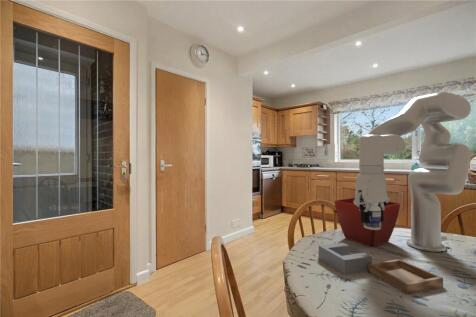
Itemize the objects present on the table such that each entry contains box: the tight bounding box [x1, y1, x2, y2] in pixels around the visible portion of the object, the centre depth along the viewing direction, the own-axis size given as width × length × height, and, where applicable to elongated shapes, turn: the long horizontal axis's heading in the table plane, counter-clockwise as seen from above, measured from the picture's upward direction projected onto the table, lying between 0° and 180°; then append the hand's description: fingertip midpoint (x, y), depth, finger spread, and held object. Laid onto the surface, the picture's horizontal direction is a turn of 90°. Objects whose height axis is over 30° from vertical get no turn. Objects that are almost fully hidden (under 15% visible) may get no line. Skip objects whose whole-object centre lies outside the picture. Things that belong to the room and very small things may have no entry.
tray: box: [367, 258, 444, 295], centre depth 71 cm, size 13×13×2 cm
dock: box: [318, 242, 373, 276], centre depth 81 cm, size 10×13×4 cm
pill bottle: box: [364, 202, 381, 230], centre depth 85 cm, size 5×5×10 cm
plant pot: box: [334, 197, 401, 247], centre depth 105 cm, size 19×19×17 cm
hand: (372, 221), depth 85 cm, fingers closed on pill bottle, 5 cm apart
